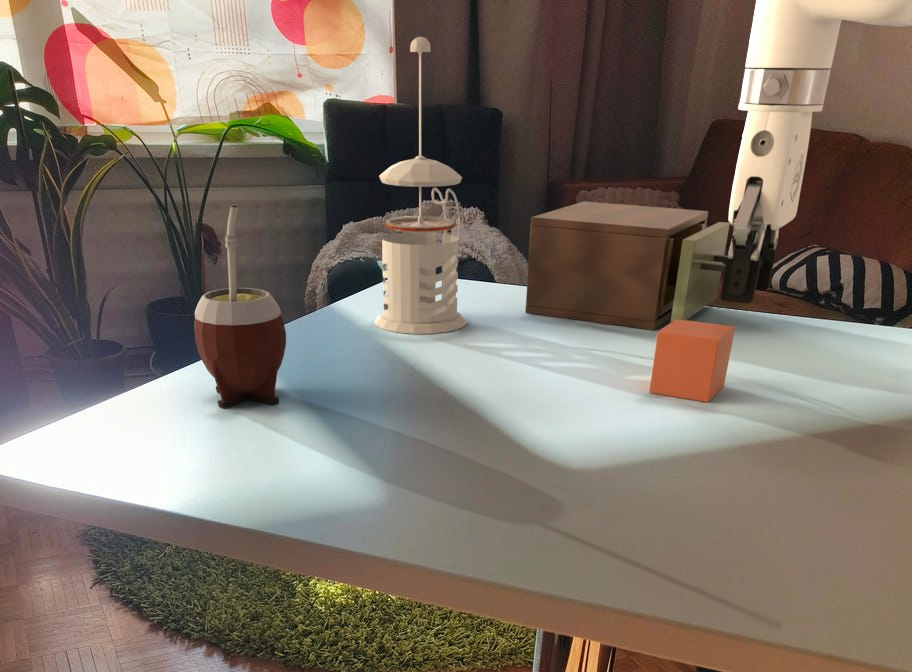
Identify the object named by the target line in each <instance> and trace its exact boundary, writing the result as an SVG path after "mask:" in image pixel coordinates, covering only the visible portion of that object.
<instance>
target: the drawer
mask: <svg viewBox="0 0 912 672" xmlns="http://www.w3.org/2000/svg"><path fill="white" fill-rule="evenodd" d="M730 226H731V224H730V222H726V221H725V222H723V221H718V222H716V223H714V224H712V225H710V226H708V227H706V229H704V224H700V223H697V224H695V225H693V226H691V227H688V228H686V229H684V230H682V231H680V232H678V233H675V234H673V235H671V236H669V237H668V238H669V239H668V246H667V253H666V260H665V267H664V274H663V281H662V288H661V296H660V303H659V310H658V316H661V315H662V314H664V313H665V312H667V311H668V310H670V309H671V308H673V309H672V316H671V319H670V323H671V322H673V321H674V320H676V319H680V320H688V319H690V318H692V316H694V315H696V314H697V313H699V312H700V311H701V310H702V309H704V308H705V307H707V306H708V305H709V304H711V303H712V302H714V301H716V299H717V298H718V293H719V287H720V281H721V276H722V272H723V273H725V268H726V262H727V258H728V255H725V253H726V249H727V248H726V247H727V242H728V236H729V230H730ZM758 260H759V261H761V264H760V267H761V266H762V265H763V262H764V259H763V256H762V255H761V254H759V257H758Z"/></svg>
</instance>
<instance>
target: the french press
mask: <svg viewBox="0 0 912 672" xmlns="http://www.w3.org/2000/svg"><path fill="white" fill-rule="evenodd" d="M410 53H417V54H418V155H417V156H415V157H414V158H411V159H406V160H402V161H398V162H397V163H394V164H392V165H391V166H389V167H388V168H387V169H385V170H384V171H383V172H382V173H380V175H379V176H378V177H379V180H380V182H381V183H382V184H385V185H389V186H398V187H413V188H415V187H418V190H419V191H418V197H419V198H418V199H419V200H418V202H419V203H418V204H419V205H418V211H419V215H417V216H416V215H403V216H394V217H391V218H387V219H386V220H385V221H384V224H385V227H386V228H387V229H391V230H394V231H396V233H391V234H387V235H384V236H382V238H381V239H382V241H381V242H382V243H381V244H382V246H381V247H382V248H381V250H382V257H381V258H382V278H383V279H382V290H383V293H382V294H383V311H382V312H380V313H379V315H378V316H377V317H376V318H375V319H374V326H375V327H376V326H377V328H380V329H381V330H385V331H390V332H393V333H400V334H410V335H411V334H412V335H428V334H429V335H433V334H442V333H447V332H452V331H456V330H460V329H462V328H464V327H465V326H466V325H467V324H468V323H467V321H466V319H465V318H464V316H463V315H462V314H461V313H460V312H459V311H458V297H457V293H458V291H459V290H458V289H459V288H458V284H457V281H458V279H459V272H458V271H457V268H458V266H459V257H458V253H459V241H460V235H461V212H460V211H461V210H460V206H459V201H458V198H457V196H456V193H455V192H454V191H453V190H452V189H451V188H447V189H446V191H445V199H444V197H443V194H442V192H441V191H440V190H439V188H437V187H448V186H455V185H458V184H460V183H461V182H462V179H463V177H462V175H460V174H459V173H458V172H457V171H455V169H454V168H452V167H450V166H449V165H446V164H444V163H442V162H440V161H438V160H434V159H430V158H427V157H425V156H424V155H422V54H423V53H431V43H430V41H429V40H428V38H427V37H424V36H417V37H414V39H413V40H412V41H411V43H410ZM427 187H428V188H429V187H433V188H432V190H431V200H432V202H433V203H434V204H435V205H442V210H443V214H444V215H443V216H440V215H438V216H437V215H435V216H434V215H433V216H432V215H429V216H428V215H422V188H427ZM435 192H436V193H437V194H438V195H439V198H440V200H441V201H439V200H438V201H437V200H436V199H435ZM449 193H450V194H451V195H452V196H453V199H454V201H455V206H456V211H457V222H456V221H455V219H453V218H449V217H448V215H447V208H446V204H447V203H448V200H449ZM456 225H457V236H455V235H453V234H447V231H450V230H451V229H454V228H455V227H456ZM397 232H399V233H397ZM439 232H443V233H441V234H442V235H441V236H442V237H441V239H442V240H441V243H437V233H439ZM386 266H387V267H386ZM440 267H441V272H439V273H436V271H437V268H440ZM386 280H387V281H386ZM438 282H441V286H439V287H437V286H436V285H437V284H436V283H438ZM386 293H387V295H386ZM385 295H386V296H385ZM440 295H441V299H439V300H437V301H436V297H437V296H440Z"/></svg>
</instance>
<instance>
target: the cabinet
mask: <svg viewBox="0 0 912 672" xmlns="http://www.w3.org/2000/svg"><path fill="white" fill-rule="evenodd" d="M708 215H709V211H708V210H699V209H698V210H697V209H687V208H685V209H684V208H672V207H662V206H661V207H659V206H646V205H633V204H623V203H622V204H621V203H608V202H597V201H581V202H578V203H574V204H571V205H567V206H565V207H560V208H558V209H557V208H556V209H554V210H551V211H548V212H544V213H541V214H538V215H534V216H531V218H530V229H529V230H530V232H529V246H528V247H529V248H528V265H527V278H526V279H527V282H526V298H525V309H524V310H525V313H526V314H532V315H541V316H545V317H546V316H548V317H553V318H554V317H555V318H561V319H568V320H569V319H570V320H575V321H576V320H577V321H584V322H592V323H597V324H598V323H599V324H605V325H612V326H620V327H626V328H634V329H642V330H648V331H655V330H656V329H658V328H659V327H660V326H663V324H665V323H666V322H668V321H670V320H671V316H672V309H673V308H671V309H670V310H668V311H667V312H665V313H664V314H662V315H661V316H658V310H659V303H660V296H661V288H662V281H663V274H664V267H665V260H666V253H667V246H668V239H669V238H668V237H669V236H671V235H673V234H675V233H678V232H680V231H682V230H684V229H686V228H688V227H691V226H693V225H695V224H697V223H700V224H704V229H706V228H707V222H708Z"/></svg>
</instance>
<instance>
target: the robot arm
mask: <svg viewBox="0 0 912 672" xmlns="http://www.w3.org/2000/svg"><path fill="white" fill-rule="evenodd" d="M755 1H756V2H755V8H754V12H753V13H754V14H753V18H752V25H751V30H750V31H751V32H750V35H749V36H750V37H749V43H748V49H747V54H746V60H745V68H744V71H743V79H742V84H741V90H740V96H739V103H738V107H737V109H738V111H739V110H740V111H747V116H746V119H745V124H744V129H743V133H742V135H741V137H742V139H741V143H740V147H739V152H738V157H737V162H736V167H735V173H734V178H733V183H732V188H731V195H730V202H729V208H728V223H730V226H732V227H733V234H732V236H731V241H730V245H729V249H728V253H727V256H728V258H727V262H726V263H725V265H726V268H725V272H724V275H723V279H722V285H721V291H720V297H719V298H720V300H721V301H723V302H730V303H739V304H746V305H747V304H749V305H750V304H751V303H752V302H754V299H755V294H756V291H761V292H765V291H768V289H769V288H770V284H771V278H772V274H773V269H774V264H775V260H776V259H775V258H776V254H777V249H776V248H777V245H778V242H779V241H778V239H779V232H780V229H781V228H782V227H784V226H785V225H787V224H788V223H790V222H792V221H793V220H794V219H795V218H796V216H797V212H798V207H799V202H800V196H801V190H802V185H803V179H804V173H805V168H806V163H807V156H808V150H809V144H810V137H811V129H812V119H813V113H815V112H816V113H820V112H823V109H824V103H825V98H826V94H827V90H828V85H829V81H830V75H831V69H832V67H833V62H834V57H835V52H836V47H837V43H838V38H839V33H840V29H841V25H842V24H841V23H842V21H848V22H853V23H854V22H855V23H861V24H866V25H873V26H881V27H897V28H899V27H901V28H902V27H904V28H905V27H911V26H912V0H755ZM759 254H761V255H762V256H763V259H764V262H763V265H762V266H761V267H760V264H761V261H759V260H758V257H759Z"/></svg>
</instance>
